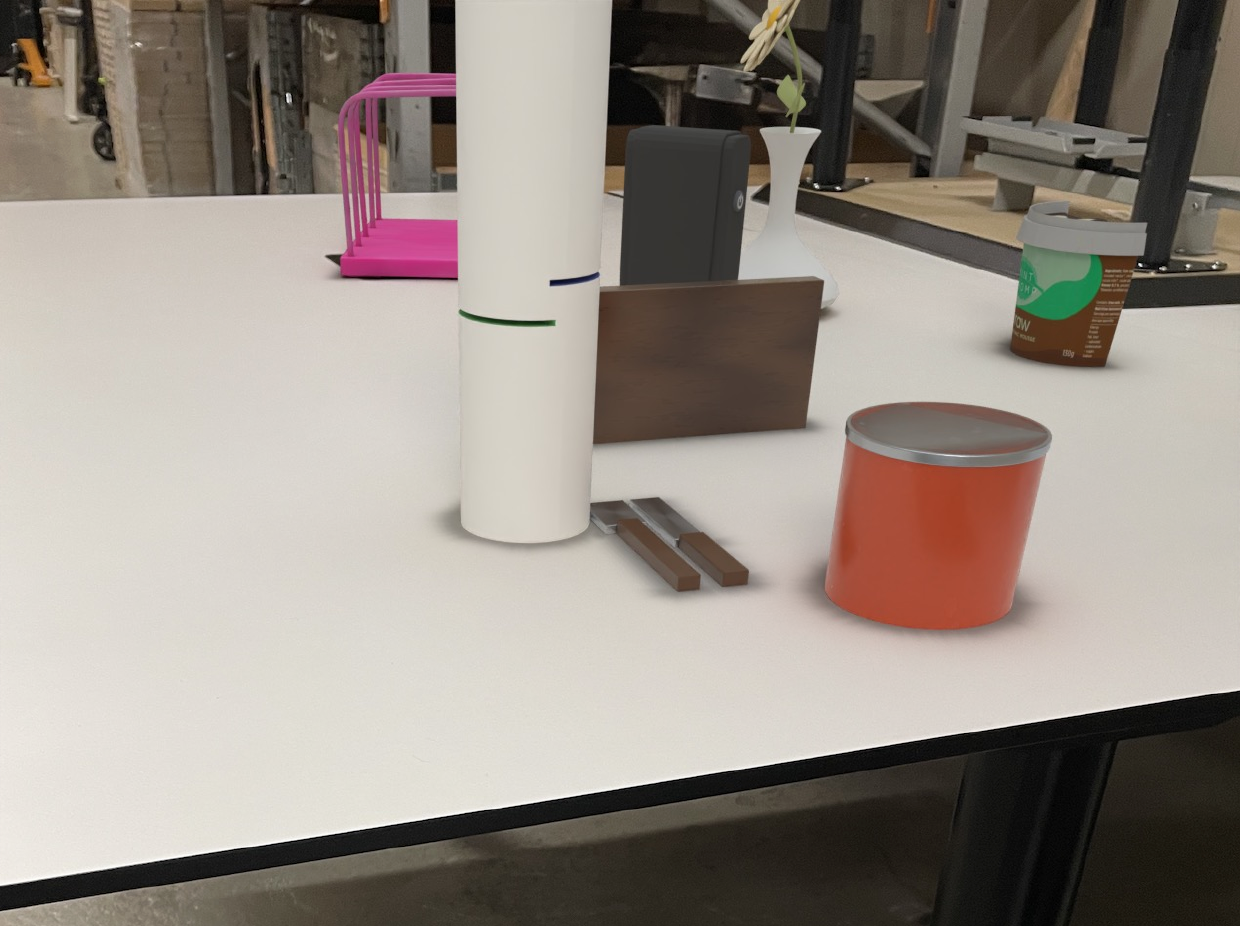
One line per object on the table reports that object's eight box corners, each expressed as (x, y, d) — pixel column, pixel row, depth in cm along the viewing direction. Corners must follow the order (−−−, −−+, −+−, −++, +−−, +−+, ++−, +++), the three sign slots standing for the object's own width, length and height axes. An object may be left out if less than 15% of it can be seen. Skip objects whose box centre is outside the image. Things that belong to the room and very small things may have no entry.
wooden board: (796, 423, 95) (814, 275, 90) (806, 428, 94) (825, 280, 88) (570, 439, 91) (575, 287, 86) (578, 446, 90) (583, 292, 85)
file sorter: (340, 279, 135) (329, 86, 126) (372, 236, 156) (364, 67, 146) (521, 282, 135) (523, 88, 125) (529, 239, 155) (532, 69, 146)
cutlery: (751, 585, 71) (753, 569, 70) (666, 593, 70) (667, 578, 69) (658, 505, 81) (659, 491, 80) (582, 512, 80) (582, 497, 79)
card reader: (738, 349, 112) (759, 130, 104) (715, 359, 110) (735, 135, 101) (637, 334, 116) (650, 123, 108) (613, 343, 114) (623, 127, 105)
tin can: (1032, 583, 71) (1070, 417, 66) (988, 646, 65) (1027, 467, 60) (855, 551, 75) (879, 392, 70) (796, 608, 68) (819, 437, 63)
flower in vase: (721, 295, 130) (750, -39, 115) (845, 304, 127) (892, -38, 112) (688, 323, 120) (716, -38, 105) (822, 334, 117) (870, -37, 102)
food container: (967, 339, 116) (993, 201, 110) (1036, 336, 117) (1065, 199, 111) (1040, 375, 106) (1072, 225, 100) (1115, 371, 107) (1151, 223, 101)
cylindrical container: (614, 530, 77) (644, -33, 62) (500, 552, 74) (504, -33, 59) (546, 494, 82) (560, -34, 67) (438, 513, 79) (427, -35, 64)
